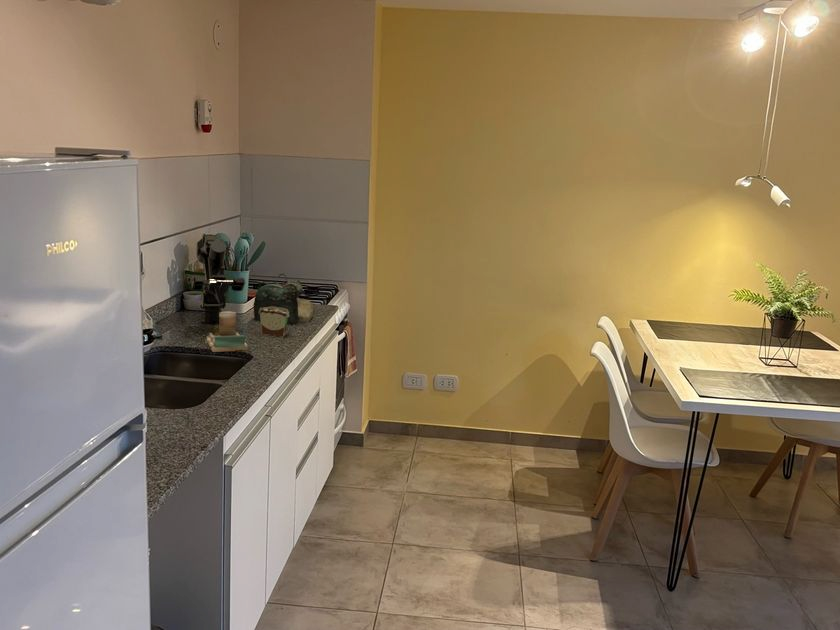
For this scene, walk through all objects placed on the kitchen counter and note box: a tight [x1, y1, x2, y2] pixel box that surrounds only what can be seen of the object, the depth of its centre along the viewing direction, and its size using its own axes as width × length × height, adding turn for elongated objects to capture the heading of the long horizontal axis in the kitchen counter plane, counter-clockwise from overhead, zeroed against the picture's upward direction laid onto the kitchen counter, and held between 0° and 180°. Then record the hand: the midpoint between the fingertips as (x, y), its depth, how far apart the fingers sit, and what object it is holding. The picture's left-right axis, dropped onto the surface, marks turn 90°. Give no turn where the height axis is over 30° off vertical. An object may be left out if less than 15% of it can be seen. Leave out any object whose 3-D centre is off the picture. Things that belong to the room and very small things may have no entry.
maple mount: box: [206, 331, 249, 353], centre depth 274 cm, size 16×12×5 cm
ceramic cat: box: [252, 273, 304, 325], centre depth 311 cm, size 20×6×20 cm, turn 76°
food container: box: [259, 306, 289, 338], centre depth 292 cm, size 12×6×10 cm, turn 71°
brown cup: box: [218, 310, 237, 336], centre depth 271 cm, size 6×6×10 cm
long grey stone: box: [297, 297, 314, 323], centre depth 331 cm, size 35×5×10 cm
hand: (220, 303), depth 284 cm, fingers closed
